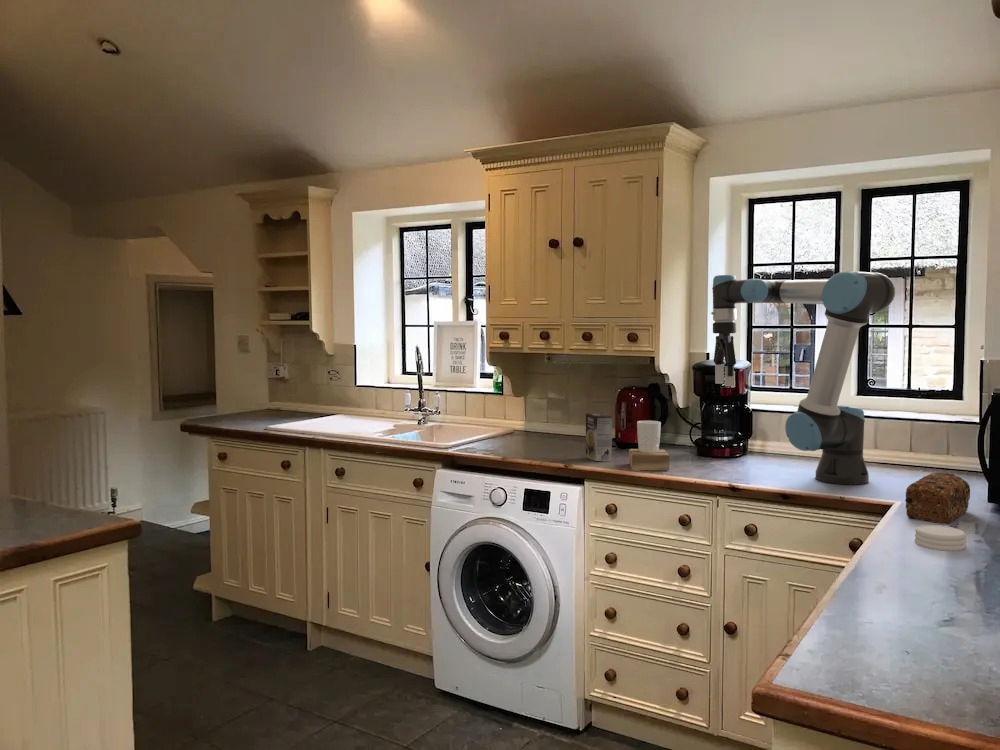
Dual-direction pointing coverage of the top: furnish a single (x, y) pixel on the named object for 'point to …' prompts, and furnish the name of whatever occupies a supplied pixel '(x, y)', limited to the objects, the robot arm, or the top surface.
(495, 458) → the top surface
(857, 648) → the top surface
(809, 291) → the robot arm
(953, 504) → the bread
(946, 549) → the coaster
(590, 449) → the coffee box
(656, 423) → the white cup
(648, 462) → the oak block
